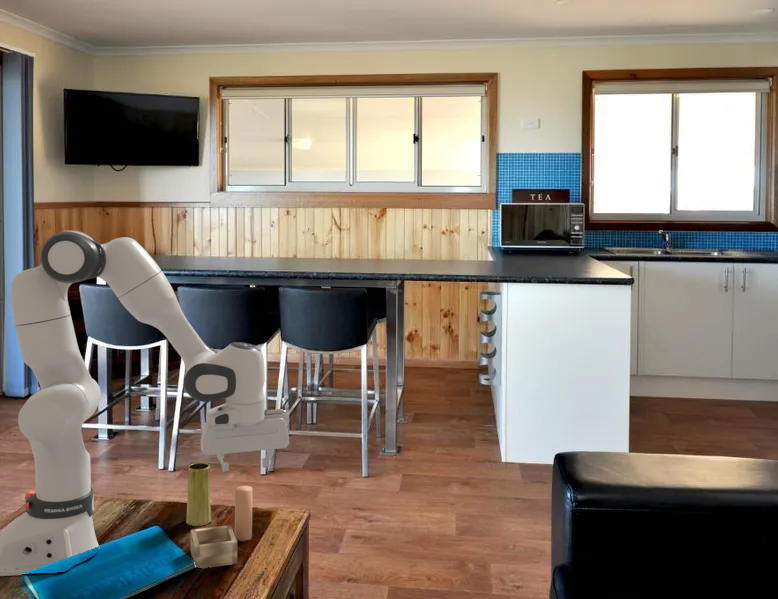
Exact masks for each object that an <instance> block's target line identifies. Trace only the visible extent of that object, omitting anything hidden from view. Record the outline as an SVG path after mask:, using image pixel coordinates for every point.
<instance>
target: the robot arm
mask: <svg viewBox="0 0 778 599" xmlns="http://www.w3.org/2000/svg"><path fill="white" fill-rule="evenodd" d="M40 249H41V250H40V253H39V255H40V256H39V258H40V260H39V261H40V265H38V266H36V267H32V268H28V269H25V270H22V271H20V272H18V274H16V275H15V276H14V277H13V278H12V279H11V283H10V301H11V302H10V303H11V311H12V312H11V313H12V317H13V318H12V319H13V323H14V326H15V327H14V328H15V332H16V336H17V337H16V338H17V341H18V345H19V349H20V354H21V359H22V360H23V363H25V365H26V366H28V367H29V368H30V369H31V371H32V373H33V374H34V376H35V377H36V381H37V382H38V383H39V386H40V388H39V389H40V390H38V391H36V392H35V393H33V394H32V395H30V397H29V398H28V399H27V401H26V402H25V403H24V404H23V406H22V407H21V409H20V410H19V412H18V417H17V424H18V427H19V430H20V432H21V433H22V435H23V436H24V437H25V438H26V439H27V440H28V441H29V445H30V447H31V451H32V456H33V460H34V472H35V474H34V476H35V491H34V490H31V489H30V490H28V491H27V492H26V493H25V496H24V499H25V507H24V508H25V512H23V513H22V514H21V515H19V516H18V517H17V518H15V519H14V520H12V521H11V522H10V523H9V524H8V525H6V526H5V527H4V528H3V530H2V532H1V533H0V577H5V576H6V577H7V576H23V575H22V573H23V572H28V571H30V570H33V569H36V568H39V567H41V566H44V565H46V564H50V563H52V562H56V561H59V560H62V559H65V558H69V557H71V556H74V555H77V554H79V553H83V552H85V551H87V550H91V549H93V548H95V547H98V546H99V547H100V545H99V542H98V540H97V536H96V532H95V527H94V520H93V514H94V509H95V507H94V505H95V501H94V500H95V499H94V490H93V487H92V481H91V480H92V477H91V476H92V475H91V472H92V471H91V467H92V466H91V461H92V460H91V454H90V453H89V452H88V451H87V449H86V447H85V442H84V440H83V438H84V437H83V434H82V429H83V424H84V423H85V422H86V421H87V420H88V419H90V418H91V417H92V416H93V415H94V414H95V413H96V411H97V408H98V407H99V404H100V402H101V398H102V391H101V388H100V385H99V383H98V382H97V381H96V380H95V379H94V378H92V376H91V374H90V371H89V369H88V368H87V366H86V363H85V361H84V359H83V356H82V354H81V352H80V349H79V345H78V340H77V336H76V332H75V327H74V323H73V320H72V319H73V318H72V315H71V309H70V305H69V300H68V298H69V297H68V291H69V288H70V286H72V285H74V284H75V283H80V282H83V281H87V280H90V279H94V278H99V279H101V280H103V281H104V282H105V283H106V284H107V285H108V286H109V288H111V290H112V291H113V293H114V294H115V297H116V298H118V300H119V302H120V303H121V304H122V306H123V307H124V308H125V310H127V311H128V312H129V314H131V315H132V316H133V317H134V318H135V320H137V321H138V322H140V323H143V324H147V325H150V326H152V327H154V328H156V329H158V331H160V332H161V333H162V334H163V335H164V336H165V337H166V339H167V340H168V342H169V343H170V344H171V346H172V347H173V348H174V350H175V351H176V352H177V353H178V355H179V356H180V357H181V359H182V361H183V363H184V364H183V365H184V369H185V375H184V379H183V383H184V384H183V385H184V389H185V392H186V393H187V394H188V396H189V397H191V399H193V400H195V401H197V402H201V403H208V402H214V401H215V402H216V401H219V400H223V399H225V403H223V404H220V405H218V406H214V407H213V408H212V407H211V408H209V409H208V410H207V411H206V420H207V421H206V422H205V423H204V424H203V426H202V431H201V436H200V437H201V438H200V449H201V453H202V454H203V455H205V456H206V457H207V456H215V455H216V457H217V460H218V462H220V464H221V472H222V473H225V472H226V473H227V472H230V469H229V468H230V464H229V462H225V461H224V458H225V455H228V454H239V453H246V452H249V453H250V452H257V451H266V452H267V453H266V456H265V457H264V458H261V466H262V469H263V468H264V469H265V468H270V460H271V459H272V458H273V457H274V456H273V455H274V454H275V450H276V449H277V450H278V449H286V448H287V447H288V446H289V443H290V439H289V438H290V436H289V429H288V426H289V423H290V414H289V412H288V411H286V410H284V409H283V408H277V409H265V402H266V401H265V394H264V385H265V380H266V379H265V375H266V374H265V373H266V372H265V361H264V355H263V351H262V350H261V349H260V348H259V347H258V346H256V345H255V344H251V343H248V342H240V341H239V342H232V343H230V344H228V345H227V346H226V347H225V348H223V349H221V350H220V351H217V349H216V350H215V349H214V348H212V347H210V346H209V345H207V343H205V342H204V340H203V339H202V338H201V336H200V335H199V334H198V332H197V331H196V330H195V328H194V327H193V325H192V324H191V322H190V320H188V318H187V317H186V316H185V314H184V312H183V310H182V308H181V305H180V303H179V300H178V297H177V295H176V293H175V291H174V289H173V286H172V285H171V284H170V282H169V279H168V278H167V277H166V275H165V273H164V272H163V271H162V269H161V267H160V266H159V265H158V263H157V262H156V261H155V260H154V258H153V257H152V256H151V255H150V254H149V252H147V250H146V249H145V248H144V247H143V246H142V245H141V244H140V243H139V242H138V241H137V240H135V239H134V238H131V237H129V236H128V237H127V236H125V237H124V236H123V237H116V238H114V239H112V240H110V241H108V242H105V243H100V242H98V241H96V239H94V238H93V237H92V236H90V234H87V233H84V232H82V231H79V230H73V229H70V230H69V229H68V230H62V231H59V232H58V233H55V234H53V235H51V236H49V237H48V239H46V240H45V242H44V243H43V244H42V247H41V248H40Z"/></svg>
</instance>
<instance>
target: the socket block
mask: <svg viewBox="0 0 778 599" xmlns="http://www.w3.org/2000/svg"><path fill="white" fill-rule="evenodd" d="M190 554H191V557H192V558H193V559H192V558H191V559H192V561H193V560H194V562H195V565H196V566H197V567H198V568H202V569H209V568H216V567H222V566H228V565H229V566H230V565H236V564H238V540H236V537H235V531H234V530H233V527H232V525H230V524H229V525H222V526H221V525H220V526H213V527H212V526H211V527H203V528H196V529H190ZM208 567H209V568H208Z"/></svg>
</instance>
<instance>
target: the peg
mask: <svg viewBox="0 0 778 599" xmlns="http://www.w3.org/2000/svg"><path fill="white" fill-rule="evenodd" d="M234 489H235V491H234V492H235V493H234V494H235V495H234V535H235V537H236V540H237V541H238V540H239V541H238V542H247V541H250V540H251V539H252V537H253V534H252V533H253V490H254V489H253V487H252V486H250V485H240V486H237V487H235V488H234ZM246 540H247V541H246Z"/></svg>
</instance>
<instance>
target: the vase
mask: <svg viewBox="0 0 778 599" xmlns="http://www.w3.org/2000/svg"><path fill="white" fill-rule="evenodd" d="M187 470H188V472H187V473H188V474H187V501H186V502H187V503H186V519H185V523H186V524H187V525H189V526H191V525H192V526H193V527H201V526H202V527H203V526H205V525H208V524H209V522H210V523H211V521H212V514H211V513H212V511H211V507H212V504H211V466H210V464H209V463H207V462H194V463H191V464H188V467H187Z"/></svg>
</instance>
